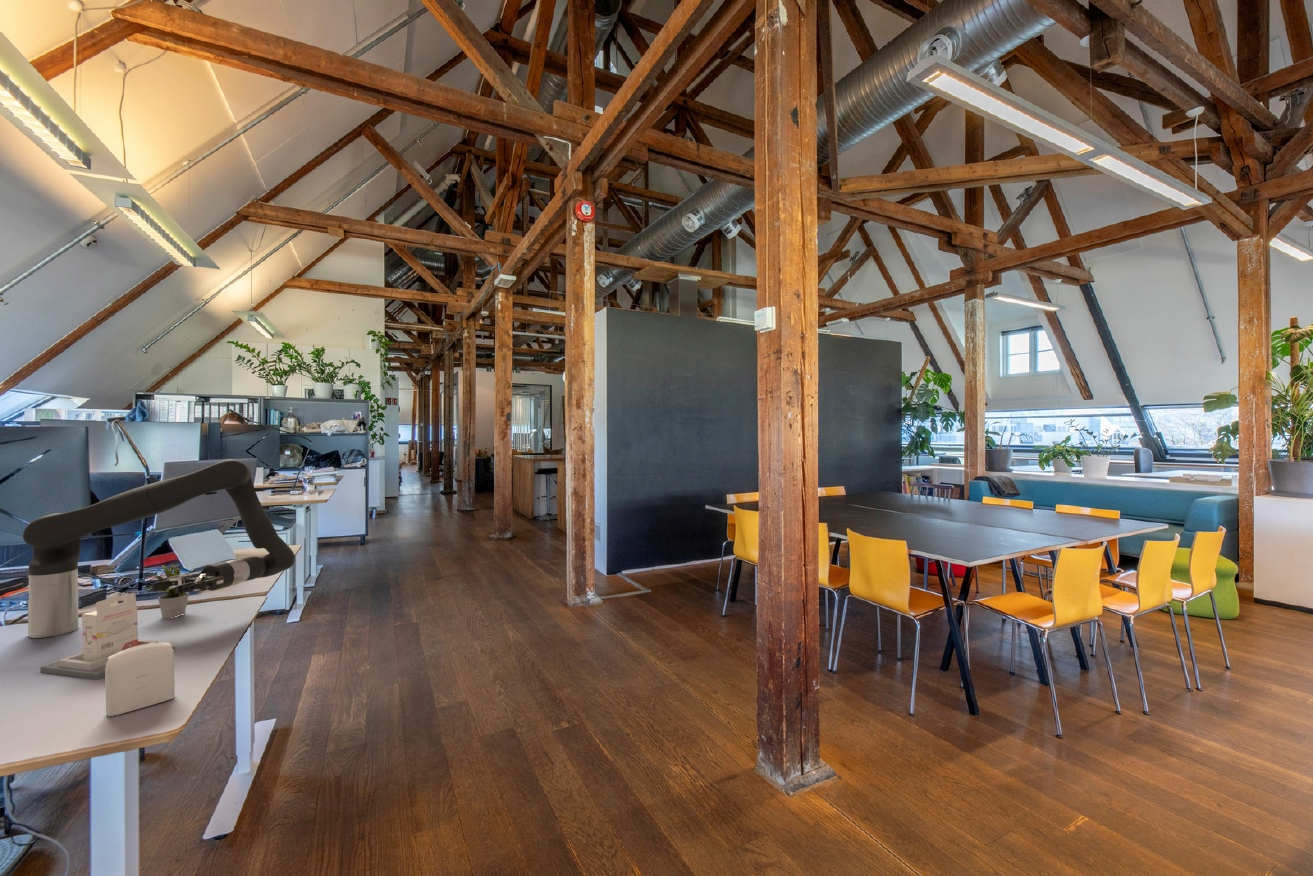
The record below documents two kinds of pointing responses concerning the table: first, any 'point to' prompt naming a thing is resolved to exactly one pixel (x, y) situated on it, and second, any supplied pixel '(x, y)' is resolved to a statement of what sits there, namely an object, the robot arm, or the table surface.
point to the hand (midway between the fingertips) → (164, 588)
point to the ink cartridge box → (110, 628)
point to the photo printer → (139, 677)
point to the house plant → (171, 596)
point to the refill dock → (82, 665)
